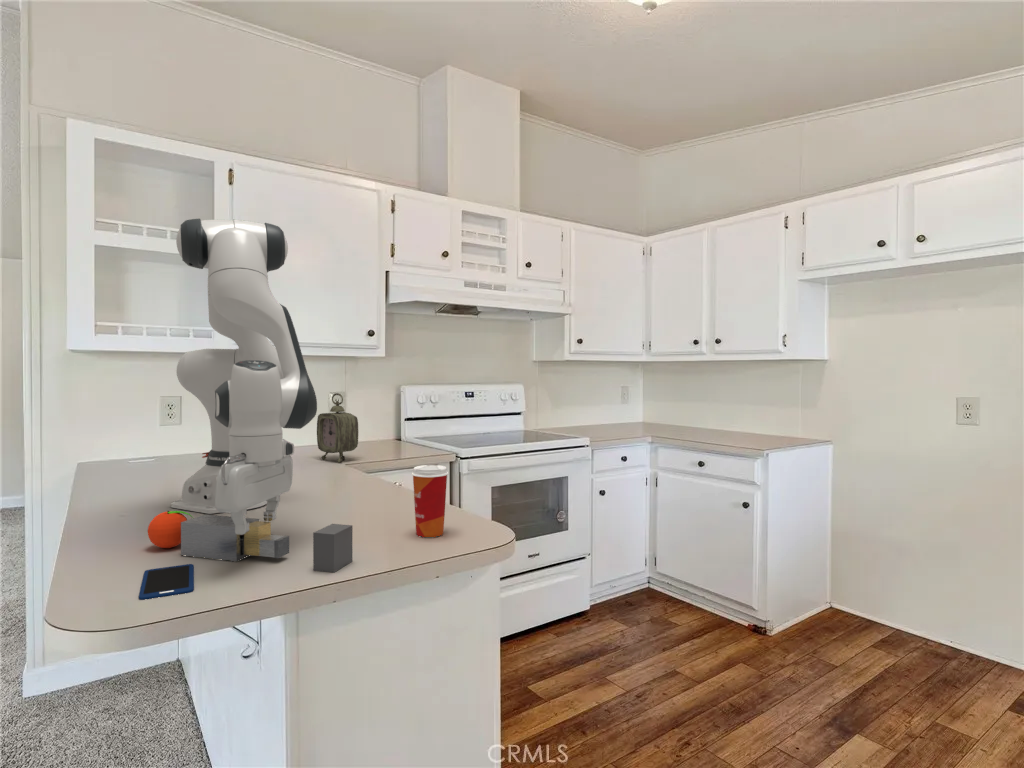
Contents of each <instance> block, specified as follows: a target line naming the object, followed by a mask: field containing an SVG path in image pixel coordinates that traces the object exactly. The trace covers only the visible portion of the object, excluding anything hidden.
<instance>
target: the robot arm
mask: <svg viewBox="0 0 1024 768" xmlns="http://www.w3.org/2000/svg"><path fill="white" fill-rule="evenodd" d="M175 239H176V249H177V252H178V253H179V256H180V258H182V262H183V263H185V264H186V265H187V266H189V267H192V268H196V269H199V270H203V269H204V268H205V269H208V270H207V272H208V273H207V275H208V276H207V305H208V322H209V324H210V326H211V328H212V329H213V330H214V331H215V332H217V333H218V334H220V335H222V336H223V337H226V338H228V339H230V340H232V341H233V342H235V344H236V345H237V348H202V349H195V350H190V351H186V352H185V353H184V354H182V356H181V357H180V359H179V360H178V362H177V364H176V377H177V380H178V382H179V383H180V385H181V386H182V387H183V388H184V389H185V390H186V391H188V392H189V393H190V394H192V395H193V396H194V397H195V398H196V399H198V400H199V402H200V403H201V404H202V405H203V407H204V409H205V411H206V413H207V414H208V419H209V426H210V434H211V435H210V436H211V437H210V438H211V449H210V450H209V451H208V452H203V453H201V455H203V456H202V457H201V458H203V459H204V458H206V460H205V465H203V466H202V467H201V468H200V469H198V471H196V472H195V473H194V474H193V475H191V476H190V477H188V478H187V479H186V480H185V481H184V483H183V485H182V491H181V498H179V499H176V500H174V501H173V502H171V503H170V508H172V509H178V510H185V511H189V512H190V511H191V512H196V513H203V514H206V515H214V514H219V513H223V514H224V513H225V514H230V517H231V518H232V520H233V522H234V524H235V533H236V534H238V535H243V534H245V533H247V532H249V522H246V518H247V517H246V515H247V510H251V509H256V508H260V507H263V506H265V505H266V506H265V510H264V511H263V522H272V521H275V520H276V519H277V510H278V507H279V504H280V501H281V495H282V494H285V493H288V492H289V491H290V490H291V488H292V485H293V475H294V474H293V471H294V470H293V469H294V464H293V463H294V462H293V457H292V455H294V454H295V445H294V443H292V442H290V441H288V440H286V439H285V438H283V429H296V430H297V429H299V430H300V429H302V428H304V427H305V426H307V425H308V424H309V423H310V422H311V421H312V420H314V418H315V417H316V415H317V411H318V399H317V395H316V391H315V388H314V386H313V384H312V381H311V379H310V377H309V375H308V374H309V373H308V371H307V367H306V363H305V360H304V357H303V353H302V349H301V346H300V342H299V339H298V335H297V333H296V329H295V326H294V323H293V319H292V317H291V314H290V312H289V310H288V308H287V307H286V306H285V305H283V304H282V303H279V302H278V300H277V298H276V297H275V296H274V295H273V293H272V290H271V287H270V285H269V277H268V276H269V275H268V273H269V272H272V271H276V270H279V269H280V268H281V267H282V266H284V264H285V262H286V260H287V256H288V253H289V251H288V250H289V246H288V241H287V238H286V235H285V233H284V231H283V229H281V227H280V226H278V225H275V224H272V223H269V222H268V223H267V222H265V223H260V222H256V221H251V220H242V219H233V220H232V219H201V218H192V219H186V220H184V221H183V222H182V223H181V224H180V227H179V230H178V232H177V234H176V238H175ZM271 342H272V343H271ZM282 428H283V429H282Z"/></svg>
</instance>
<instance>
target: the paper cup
mask: <svg viewBox="0 0 1024 768" xmlns="http://www.w3.org/2000/svg"><path fill="white" fill-rule="evenodd" d="M448 475H449V472H448V470H447V467H446V466H445V465H439V464H437V465H435V464H430V465H428V464H425V465H418V466H415V467H413V470H412V472H411V476H412V481H413V482H412V483H413V499H414V500H413V501H414V519H415V534H416V536H417V535H418V536H417V537H419V536H422V537H421V538H423V537H434V538H437V537H436V536H439V537H441V536H443V535H444V528H445V518H446V517H445V515H446V514H445V513H446V497H447V482H448ZM442 534H443V535H442ZM440 535H441V536H440Z"/></svg>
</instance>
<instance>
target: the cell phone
mask: <svg viewBox="0 0 1024 768" xmlns="http://www.w3.org/2000/svg"><path fill="white" fill-rule="evenodd" d="M194 566H195V565H194V564H192V563H187V564H179V565H172V566H171V565H170V566H164V567H157V568H151V569H146V570H144V573H143V576H142V581H141V584H140V589H139V593H138V600H139V601H146V600H145V599H147V600H152V598H153V599H157V598H158V597H160V598H166V597H172V595H173V596H178V594H179V595H185V593H186V594H189V593H193V592H194V591H195V571H194V570H195V567H194ZM158 599H159V598H158Z"/></svg>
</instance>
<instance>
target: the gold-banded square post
mask: <svg viewBox="0 0 1024 768" xmlns="http://www.w3.org/2000/svg"><path fill="white" fill-rule="evenodd" d="M271 525H272V521H262V520H261V521H260V520H259V521H255V522H253V523H250V524H249V532H247V533H245V534H243V535H240V538H241V554H245V555H251V556H256V557H267V558H275V559H280V558H282V557H284V556H285V555H288V554H290V535H278V534H271V530H272V526H271Z"/></svg>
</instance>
